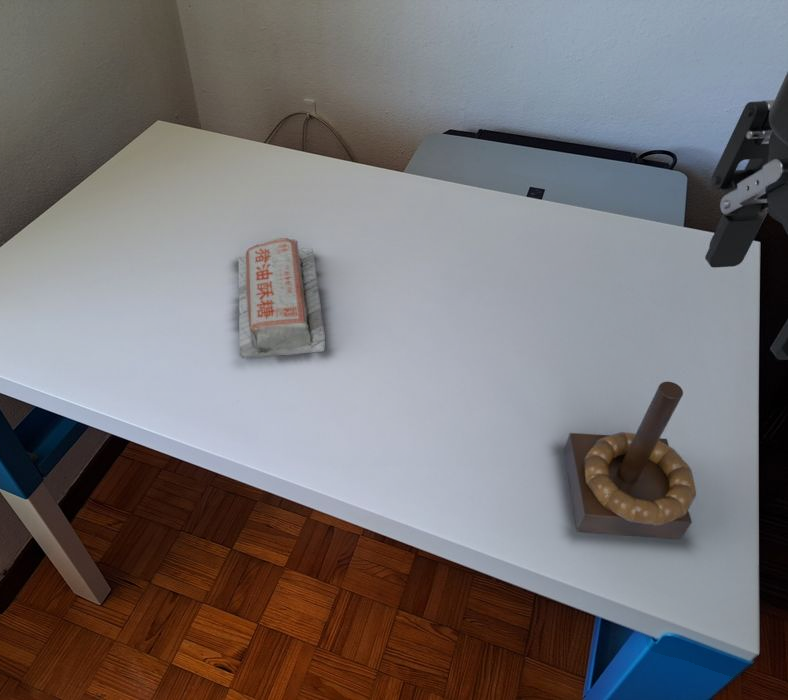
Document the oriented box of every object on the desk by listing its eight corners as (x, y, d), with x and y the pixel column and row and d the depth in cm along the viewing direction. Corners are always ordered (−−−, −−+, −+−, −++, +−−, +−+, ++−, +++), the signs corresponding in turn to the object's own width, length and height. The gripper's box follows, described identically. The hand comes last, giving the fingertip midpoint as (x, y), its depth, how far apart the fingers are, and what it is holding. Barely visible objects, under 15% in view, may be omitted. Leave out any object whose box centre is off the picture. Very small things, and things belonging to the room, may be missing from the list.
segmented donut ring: (681, 448, 64) (688, 435, 63) (698, 536, 58) (707, 524, 57) (579, 435, 66) (584, 422, 64) (585, 519, 60) (591, 507, 58)
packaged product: (325, 323, 75) (235, 332, 75) (327, 353, 79) (240, 362, 78) (312, 226, 88) (234, 233, 87) (313, 256, 91) (239, 263, 91)
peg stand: (657, 456, 67) (714, 351, 57) (680, 539, 61) (750, 439, 50) (563, 450, 68) (602, 346, 57) (577, 532, 62) (623, 431, 51)
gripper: (1115, 111, 26) (882, 388, 38) (883, -16, 36) (755, 234, 48) (922, 123, 26) (748, 396, 38) (743, -8, 36) (649, 241, 48)
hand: (752, 306), depth 43 cm, fingers open, 8 cm apart
